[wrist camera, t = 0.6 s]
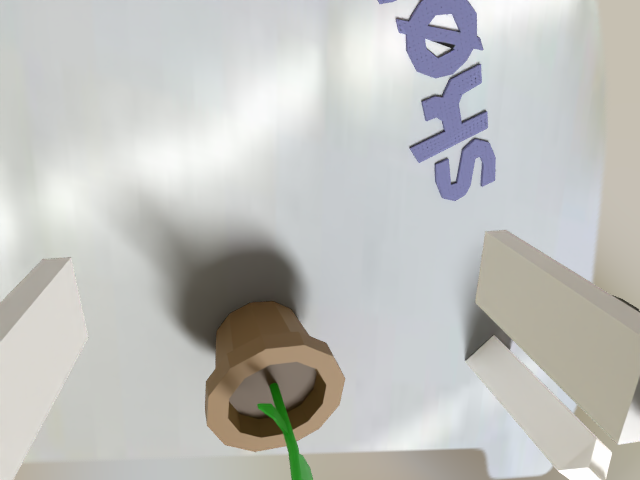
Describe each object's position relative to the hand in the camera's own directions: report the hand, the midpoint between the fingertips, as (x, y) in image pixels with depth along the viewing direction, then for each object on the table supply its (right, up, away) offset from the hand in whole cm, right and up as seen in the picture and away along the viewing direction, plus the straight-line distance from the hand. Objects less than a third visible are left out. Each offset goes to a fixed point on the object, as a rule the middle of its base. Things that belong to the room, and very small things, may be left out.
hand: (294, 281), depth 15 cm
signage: (+13, +18, +32) cm, 39 cm away
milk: (+27, -16, +55) cm, 63 cm away
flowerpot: (-7, -10, +39) cm, 41 cm away
